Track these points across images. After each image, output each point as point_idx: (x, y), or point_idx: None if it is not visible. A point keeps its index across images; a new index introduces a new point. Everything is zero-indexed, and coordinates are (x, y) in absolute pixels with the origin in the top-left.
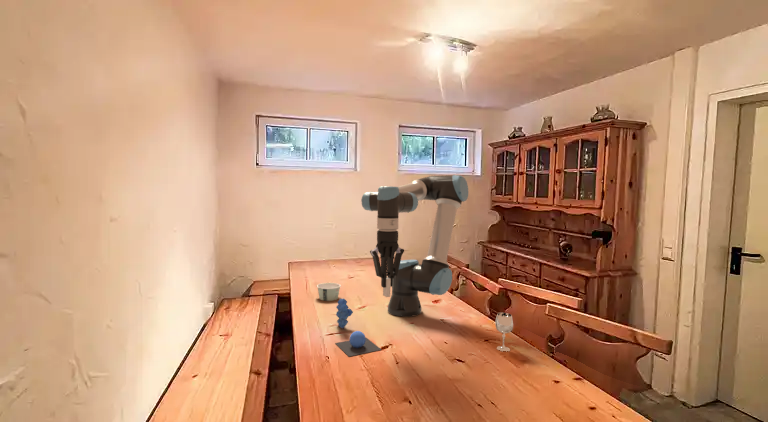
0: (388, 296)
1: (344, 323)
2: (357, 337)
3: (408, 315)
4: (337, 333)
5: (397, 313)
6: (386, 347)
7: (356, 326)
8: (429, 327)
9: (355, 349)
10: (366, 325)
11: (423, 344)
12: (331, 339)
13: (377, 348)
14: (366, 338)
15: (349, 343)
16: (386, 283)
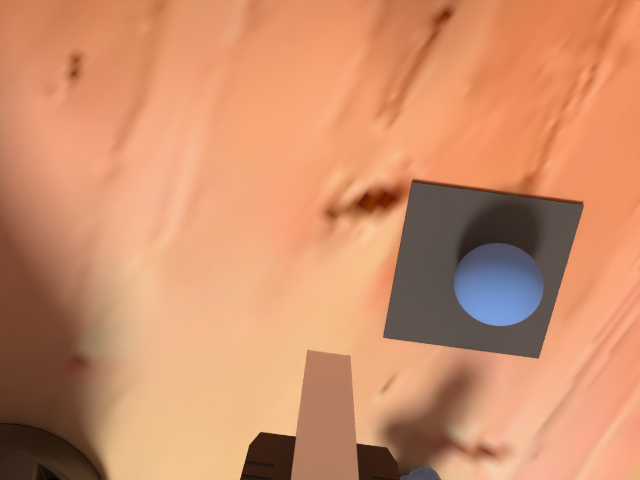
0: (327, 356)
1: (433, 471)
2: (529, 264)
3: (43, 436)
4: (457, 443)
5: (85, 476)
6: (372, 193)
7: None
8: (32, 271)
9: None
10: None
11: (193, 117)
12: (520, 403)
13: (420, 202)
14: (390, 325)
15: None
16: (356, 475)
